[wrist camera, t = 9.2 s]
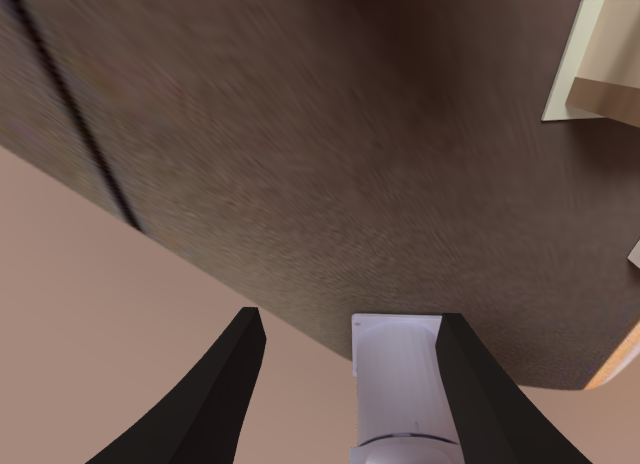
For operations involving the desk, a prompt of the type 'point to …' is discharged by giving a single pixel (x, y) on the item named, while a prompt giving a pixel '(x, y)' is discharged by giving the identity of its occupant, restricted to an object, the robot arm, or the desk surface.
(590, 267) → the desk surface
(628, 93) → the ash block
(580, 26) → the corner arena
